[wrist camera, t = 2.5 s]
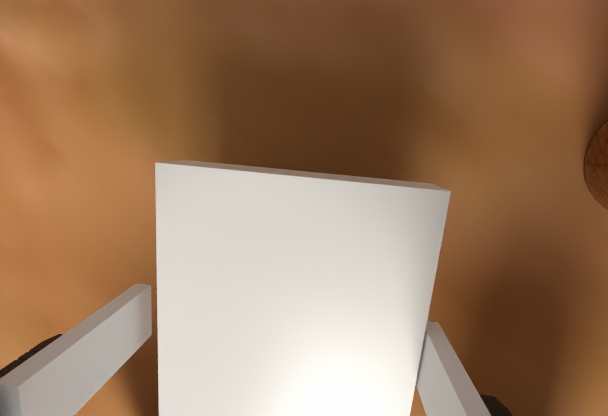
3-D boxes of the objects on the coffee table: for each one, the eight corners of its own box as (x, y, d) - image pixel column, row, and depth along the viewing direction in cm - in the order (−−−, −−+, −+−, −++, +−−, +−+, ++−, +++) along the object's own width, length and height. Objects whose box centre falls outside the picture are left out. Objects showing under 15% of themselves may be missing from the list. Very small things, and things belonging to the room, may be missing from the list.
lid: (432, 183, 14) (451, 191, 12) (387, 448, 17) (394, 498, 15) (184, 159, 16) (155, 162, 13) (183, 412, 19) (159, 452, 16)
